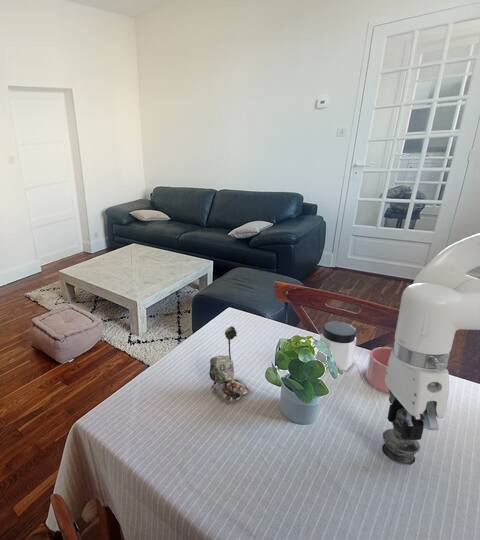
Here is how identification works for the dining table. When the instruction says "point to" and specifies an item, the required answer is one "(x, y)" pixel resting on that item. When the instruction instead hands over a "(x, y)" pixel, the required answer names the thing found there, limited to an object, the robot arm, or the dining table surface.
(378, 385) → the pink coffee mug
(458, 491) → the dining table surface
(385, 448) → the grey stone figurine
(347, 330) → the jar
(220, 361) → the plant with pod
